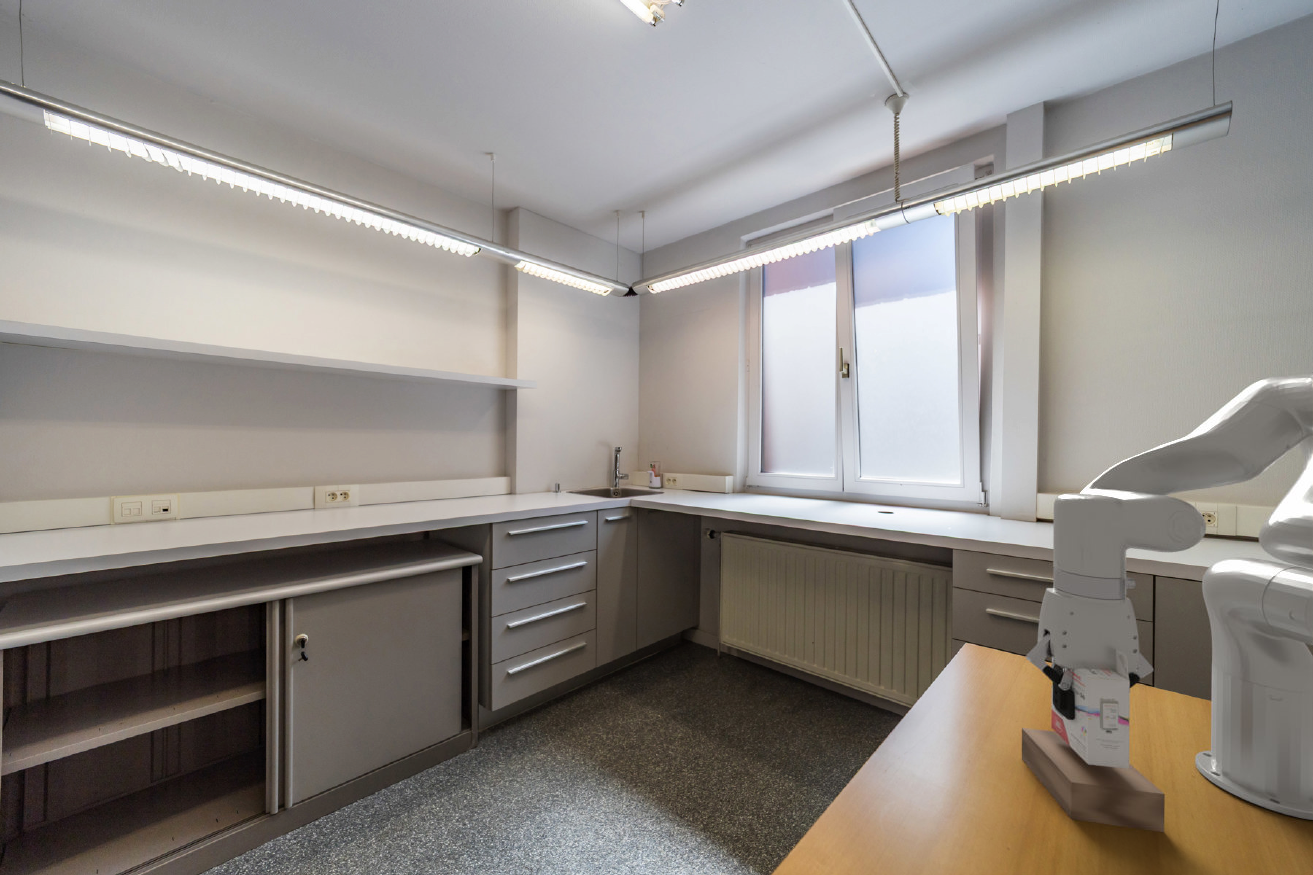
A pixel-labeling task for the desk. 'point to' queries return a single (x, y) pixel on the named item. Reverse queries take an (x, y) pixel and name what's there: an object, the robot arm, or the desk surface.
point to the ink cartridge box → (1099, 715)
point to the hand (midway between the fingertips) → (1087, 715)
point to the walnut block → (1092, 785)
